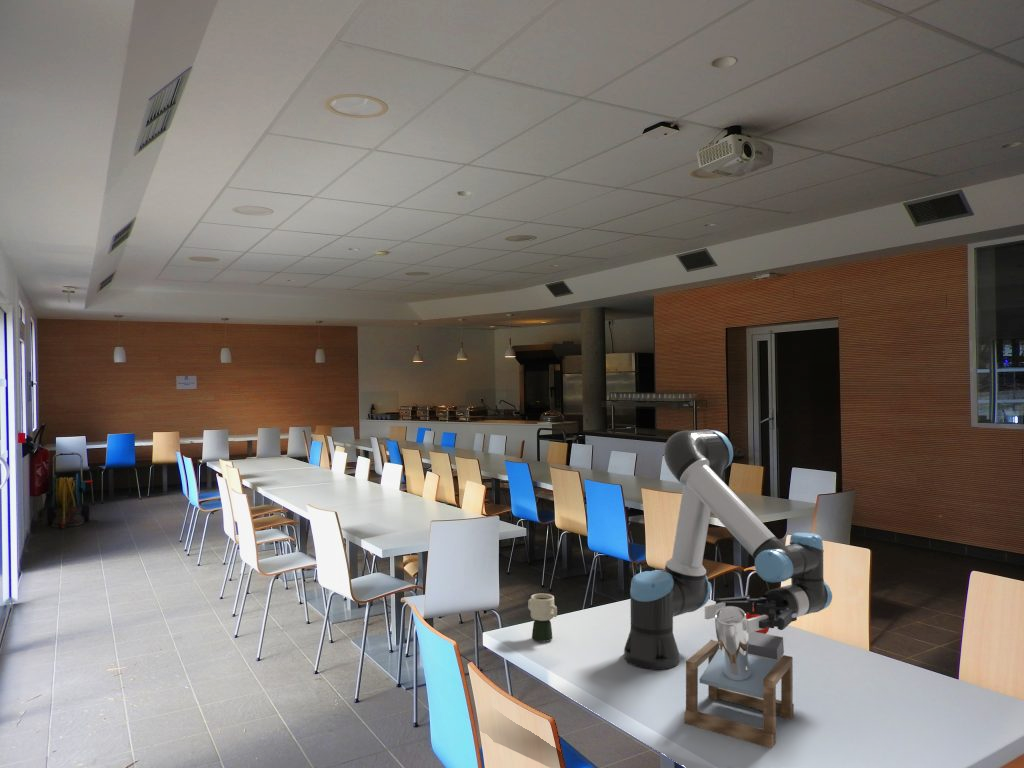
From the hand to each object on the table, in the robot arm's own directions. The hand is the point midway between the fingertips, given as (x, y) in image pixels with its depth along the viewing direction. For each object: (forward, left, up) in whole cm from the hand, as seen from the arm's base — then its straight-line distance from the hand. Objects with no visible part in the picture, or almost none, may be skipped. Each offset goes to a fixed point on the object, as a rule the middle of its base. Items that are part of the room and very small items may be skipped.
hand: (726, 619), depth 154 cm
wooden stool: (+1, +5, -23) cm, 24 cm away
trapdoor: (+1, +10, -14) cm, 17 cm away
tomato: (-13, +64, -24) cm, 70 cm away
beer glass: (+1, +4, -12) cm, 13 cm away
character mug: (-63, +22, -24) cm, 71 cm away
